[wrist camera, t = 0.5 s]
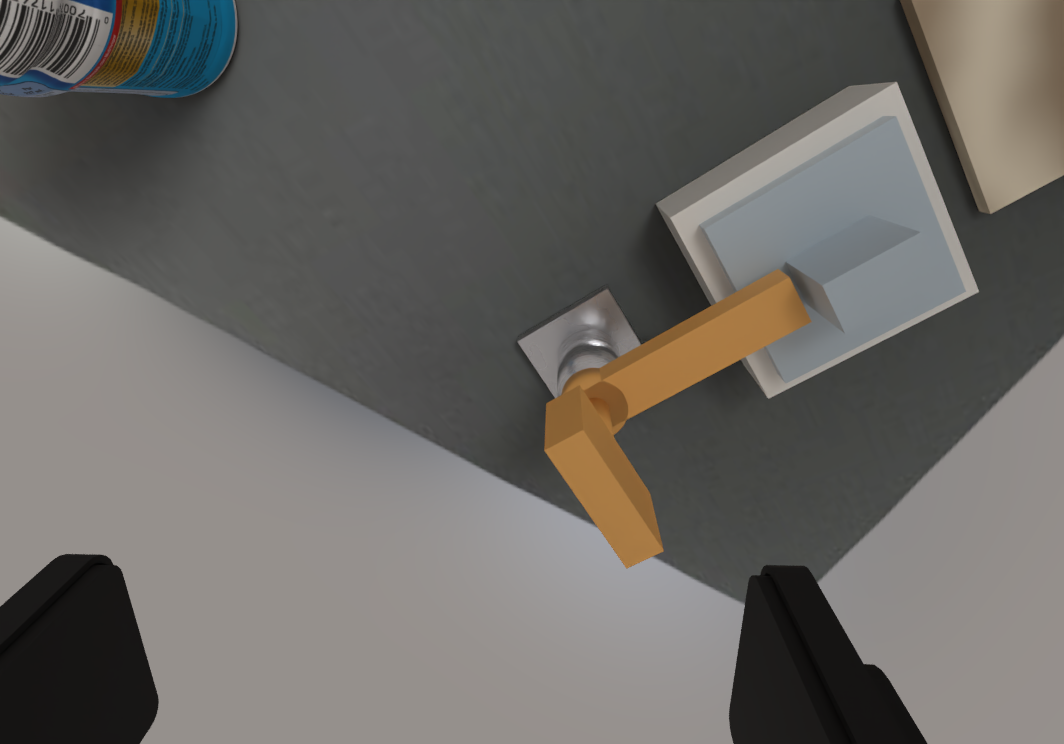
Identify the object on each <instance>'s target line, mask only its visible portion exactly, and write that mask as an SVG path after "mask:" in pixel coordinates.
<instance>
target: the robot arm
mask: <svg viewBox="0 0 1064 744" xmlns="http://www.w3.org/2000/svg"><path fill="white" fill-rule="evenodd" d="M157 710H158V695H157V691H156V688H155V684H154V681H153V677H152V674H151V670H150V667H149V663H148V660H147V656H146V653H145V650H144V646H143V643H142V639H141V636H140V632H139V629H138V625H137V622H136V618H135V615H134V611H133V608H132V605H131V601H130V598H129V594H128V591H127V587H126V584H125V580H124V577H123V574H122V571H121V569H120V568H119V567H118V566H115V565H113V563H112V561H111V559H109V558H108V557H107V556H104V555H85V554H83V555H82V554H65V555H61V556H59V557H57V558H55V559H54V560H53V561H51V562H50V563H49V564H48V565H47V566H46V567H45V568H44V569H42V570H41V571H40V572H39V573H38V574H37V575H36V576H34V577H33V578H32V579H31V580H30V581H29V582H28V583H27V584H25V585H24V586H23V587H22V588H21V589H20V590H19V591H17V592H16V593H15V594H14V595H13V596H12V597H11V598H10V599H8V600H7V601H6V602H5V603H4V604H3V605H2V606H1V607H0V744H140V742H141V741H142V739H143V738H144V736H145V734H146V733H147V732H148V730H149V729H150V727H151V725H152V723H153V722H154V720H155V717H156V714H157ZM729 721H730V730H731V735H732V739H733V743H734V744H927V742H926V741H925V739H924V737H923V736H922V734H921V732H920V731H919V729H918V727H917V726H916V724H915V722H914V721H913V719H912V717H911V716H910V714H909V712H908V711H907V709H906V707H905V706H904V704H903V702H902V701H901V699H900V697H899V696H898V694H897V693H896V691H895V689H894V687H893V686H892V684H891V683H890V681H889V679H888V678H887V677H886V675H885V674H884V673H883V672H882V670H881V669H879V668H878V667H876V666H875V665H867V664H863V662H862V661H861V659H860V657H859V655H858V654H857V652H856V650H855V648H854V647H853V645H852V643H851V641H850V640H849V638H848V636H847V634H846V633H845V631H844V629H843V627H842V626H841V624H840V622H839V620H838V619H837V617H836V615H835V613H834V612H833V610H832V609H831V606H830V605H829V603H828V601H827V600H826V598H825V596H824V594H823V593H822V591H821V589H820V587H819V586H818V584H817V582H816V580H815V579H814V577H813V575H812V573H811V572H810V571H809V569H808V568H807V567H805V566H777V565H766V566H764V567H763V569H762V571H761V575H760V576H757V575H753V576H751V577H750V579H749V583H748V589H747V595H746V602H745V609H744V615H743V623H742V629H741V635H740V643H739V649H738V656H737V663H736V669H735V676H734V682H733V689H732V696H731V703H730V711H729Z"/></svg>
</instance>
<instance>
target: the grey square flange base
mask: <svg viewBox="0 0 1064 744" xmlns="http://www.w3.org/2000/svg"><path fill="white" fill-rule="evenodd" d="M517 342H518V343H519V345H520V346H521V348H522V349H523V351H524V352H525V354H526V355H527V357H528V358H529V360H530V361H531V363H532V364H533V366H534V367H535V369H536V370H537V372H538V373H539V375H540V376H541V378H542V379H543V381H544V382H545V384H546V385H547V387H548V388H549V390H550V391H551V393H552V394H553V396H554V397H555V398H557V397H559V396H561V394H562V389H563V386H564V385H565V383H566V381H567V380H568V379H569V378H570V377H571V376H572V375H573V374H574V373H576V372H578V371H580V370H583V369H586V368H600V367H602V366H604V365H606V364H608V363H609V362H611V361H613V360H615V359H617V358H618V357H620V356H622V355H624V354H626V353H627V352H629V351H631V350H633V349H635V348H636V347H638V346H640V345H642V343H641V341H640V340H639V338H638V336H637V335H636V333H635V331H634V330H633V328H632V326H631V325H630V323H629V321H628V320H627V318H626V316H625V315H624V313H623V311H622V310H621V308H620V306H619V305H618V303H617V301H616V300H615V298H614V296H613V295H612V293H611V291H610V290H609V288H608V286H607V285H604V286H603V287H601V288H599V289H598V290H596V291H594V292H592V293H591V294H589V295H587V296H586V297H584V298H582V299H581V300H579V301H577V302H575V303H574V304H572V305H570V306H569V307H567V308H565V309H564V310H562V311H560V312H558V313H557V314H555V315H553V316H552V317H550V318H548V319H547V320H545V321H543V322H541V323H540V324H538V325H536V326H535V327H533V328H531V329H530V330H528V331H526V332H524V333H523V334H521V335H519V336H518V341H517Z"/></svg>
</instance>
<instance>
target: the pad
mask: <svg viewBox="0 0 1064 744" xmlns="http://www.w3.org/2000/svg"><path fill="white" fill-rule="evenodd" d="M900 2H901V5H902V7H903V10H904V13H905V15H906V18H907V21H908V23H909V26H910V29H911V31H912V34H913V37H914V39H915V42H916V45H917V47H918V50H919V53H920V55H921V58H922V61H923V63H924V66H925V69H926V71H927V74H928V77H929V79H930V82H931V85H932V87H933V90H934V93H935V95H936V98H937V101H938V103H939V106H940V109H941V111H942V114H943V117H944V119H945V122H946V125H947V127H948V130H949V133H950V135H951V138H952V141H953V143H954V146H955V149H956V151H957V154H958V157H959V159H960V162H961V165H962V167H963V170H964V173H965V175H966V178H967V181H968V183H969V186H970V189H971V191H972V194H973V197H974V199H975V202H976V205H977V207H978V210H979V211H980V212H984V213H988V214H992V213H994V212H995V211H997V210H999V209H1001V208H1003V207H1005V206H1007V205H1009V204H1010V203H1012V202H1014V201H1016V200H1018V199H1020V198H1022V197H1024V196H1025V195H1027V194H1029V193H1031V192H1033V191H1035V190H1037V189H1039V188H1040V187H1042V186H1044V185H1046V184H1048V183H1050V182H1052V181H1054V180H1055V179H1057V178H1059V177H1061V176H1063V175H1064V0H900Z"/></svg>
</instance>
